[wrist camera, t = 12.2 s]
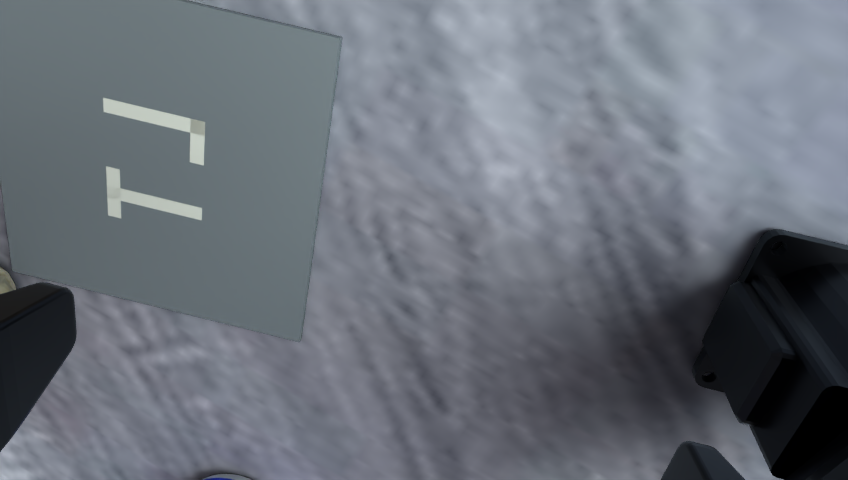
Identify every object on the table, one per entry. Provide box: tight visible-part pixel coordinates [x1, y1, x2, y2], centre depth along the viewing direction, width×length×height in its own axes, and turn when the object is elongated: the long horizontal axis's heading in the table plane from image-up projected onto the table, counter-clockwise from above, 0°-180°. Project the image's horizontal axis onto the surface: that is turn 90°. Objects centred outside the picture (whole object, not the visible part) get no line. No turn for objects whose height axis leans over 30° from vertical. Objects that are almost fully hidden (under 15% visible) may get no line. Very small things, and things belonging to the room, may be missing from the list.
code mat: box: [0, 0, 342, 342], centre depth 22 cm, size 12×12×1 cm
